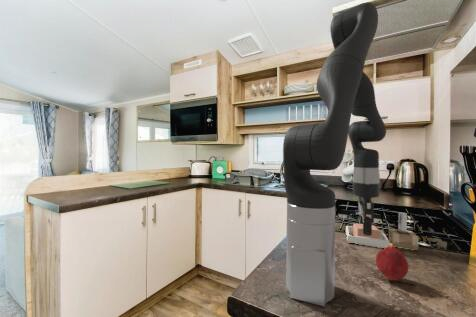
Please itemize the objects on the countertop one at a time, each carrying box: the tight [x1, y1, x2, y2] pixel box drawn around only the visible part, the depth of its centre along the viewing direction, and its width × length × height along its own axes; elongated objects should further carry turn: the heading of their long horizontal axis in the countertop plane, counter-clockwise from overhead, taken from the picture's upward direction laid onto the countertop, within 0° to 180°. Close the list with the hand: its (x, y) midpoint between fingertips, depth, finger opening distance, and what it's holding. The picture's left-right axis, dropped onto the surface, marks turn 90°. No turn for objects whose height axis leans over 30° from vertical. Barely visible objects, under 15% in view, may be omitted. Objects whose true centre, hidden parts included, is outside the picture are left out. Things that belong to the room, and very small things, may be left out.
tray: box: [345, 225, 390, 249], centre depth 71 cm, size 11×11×2 cm
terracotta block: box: [352, 222, 380, 239], centre depth 71 cm, size 6×6×4 cm
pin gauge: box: [398, 212, 408, 235], centre depth 67 cm, size 2×2×10 cm
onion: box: [375, 243, 409, 282], centre depth 47 cm, size 6×6×8 cm
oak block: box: [388, 228, 419, 251], centre depth 67 cm, size 6×6×4 cm
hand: (365, 230), depth 71 cm, fingers open, 8 cm apart
